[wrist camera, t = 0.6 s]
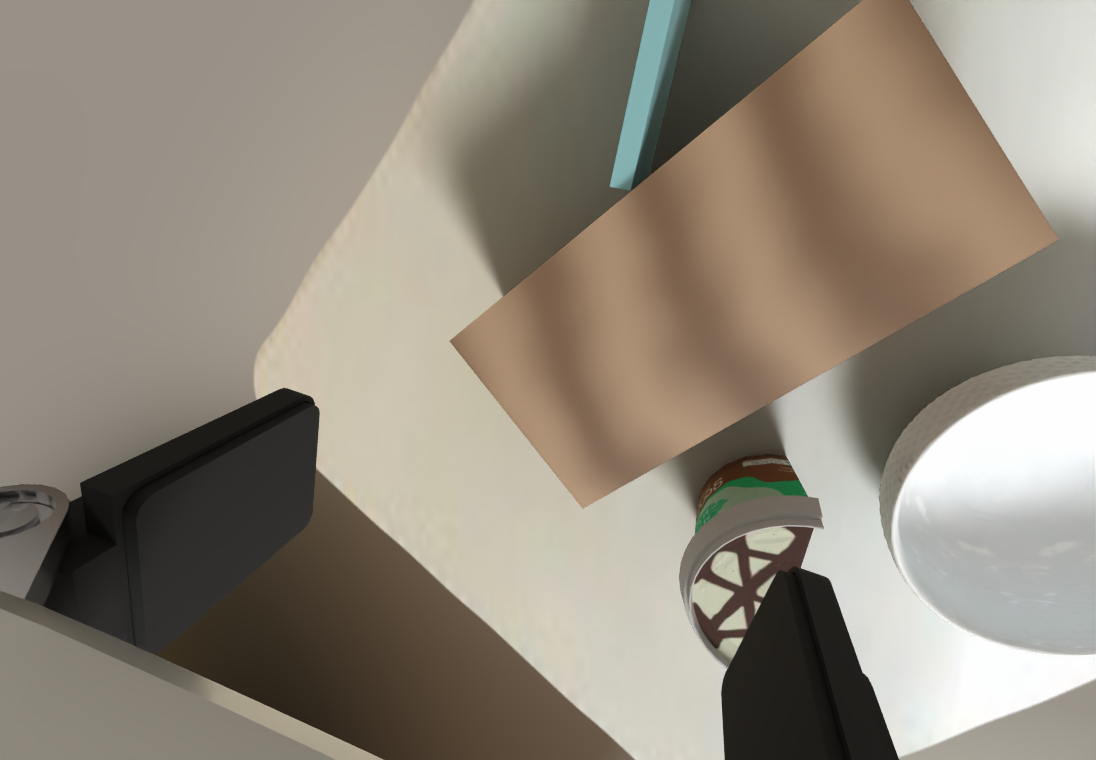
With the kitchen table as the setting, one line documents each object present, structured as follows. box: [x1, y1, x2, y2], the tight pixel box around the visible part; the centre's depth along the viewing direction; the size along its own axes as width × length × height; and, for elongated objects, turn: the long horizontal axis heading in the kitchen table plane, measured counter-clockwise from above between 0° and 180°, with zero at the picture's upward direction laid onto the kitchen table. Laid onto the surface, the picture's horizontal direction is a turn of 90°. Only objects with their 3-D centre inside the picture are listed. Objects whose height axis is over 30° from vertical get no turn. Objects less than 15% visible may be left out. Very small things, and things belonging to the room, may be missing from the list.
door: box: [610, 0, 692, 191], centre depth 27 cm, size 12×2×9 cm, turn 170°
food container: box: [679, 454, 824, 669], centre depth 34 cm, size 12×6×10 cm, turn 175°
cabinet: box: [450, 0, 1058, 508], centre depth 29 cm, size 24×12×10 cm, turn 130°
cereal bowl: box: [879, 355, 1096, 657], centre depth 30 cm, size 17×17×7 cm
